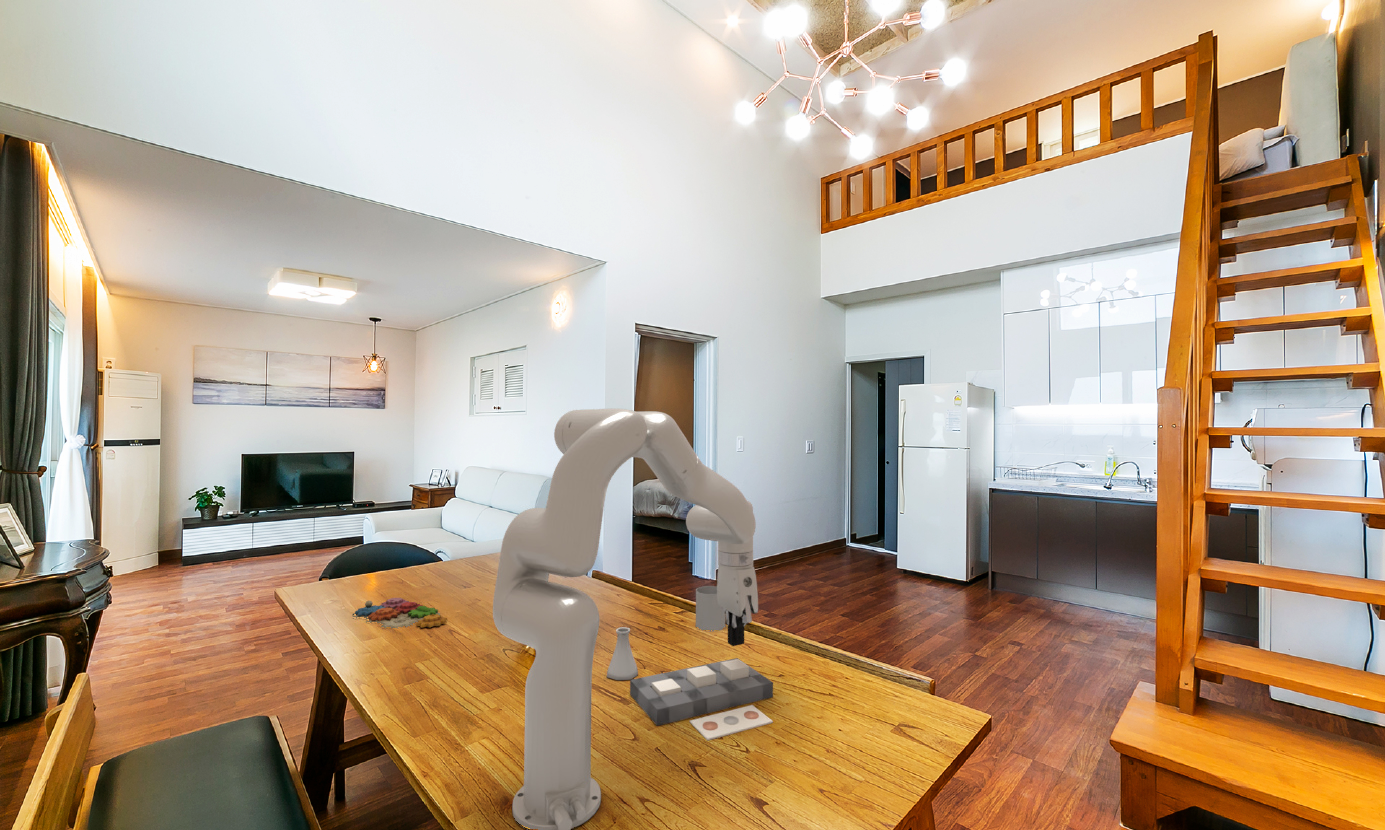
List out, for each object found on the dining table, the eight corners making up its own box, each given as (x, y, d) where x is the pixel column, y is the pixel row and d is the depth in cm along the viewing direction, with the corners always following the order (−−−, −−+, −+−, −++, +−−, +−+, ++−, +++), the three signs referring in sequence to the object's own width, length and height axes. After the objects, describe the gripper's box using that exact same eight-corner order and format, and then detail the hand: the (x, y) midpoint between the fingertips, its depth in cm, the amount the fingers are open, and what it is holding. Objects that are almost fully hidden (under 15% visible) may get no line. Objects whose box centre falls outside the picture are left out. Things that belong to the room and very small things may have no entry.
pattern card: (772, 722, 108) (772, 720, 108) (707, 740, 102) (707, 737, 102) (752, 706, 114) (752, 704, 114) (689, 722, 108) (689, 719, 108)
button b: (715, 691, 118) (715, 673, 118) (696, 695, 116) (696, 677, 116) (705, 682, 122) (705, 665, 122) (687, 686, 120) (687, 669, 120)
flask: (632, 683, 125) (633, 636, 125) (601, 679, 126) (602, 633, 126) (642, 669, 132) (643, 625, 132) (612, 666, 133) (613, 623, 133)
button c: (680, 705, 114) (680, 687, 114) (660, 710, 112) (660, 691, 112) (671, 696, 118) (671, 678, 118) (651, 700, 116) (651, 682, 116)
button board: (772, 697, 118) (772, 682, 119) (657, 726, 107) (657, 709, 107) (737, 671, 131) (737, 658, 131) (630, 694, 119) (630, 679, 119)
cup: (690, 623, 163) (691, 587, 163) (716, 619, 166) (716, 584, 167) (703, 633, 155) (704, 595, 156) (730, 629, 159) (730, 592, 159)
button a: (748, 683, 122) (748, 666, 122) (730, 687, 120) (731, 670, 120) (737, 675, 125) (738, 658, 126) (720, 679, 123) (720, 662, 124)
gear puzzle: (462, 622, 164) (463, 607, 164) (409, 639, 150) (410, 623, 151) (399, 603, 180) (399, 590, 181) (345, 618, 167) (346, 603, 167)
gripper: (770, 563, 118) (770, 653, 118) (732, 549, 132) (733, 629, 131) (739, 568, 115) (739, 660, 115) (703, 552, 128) (704, 635, 128)
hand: (736, 643), depth 123 cm, fingers closed
